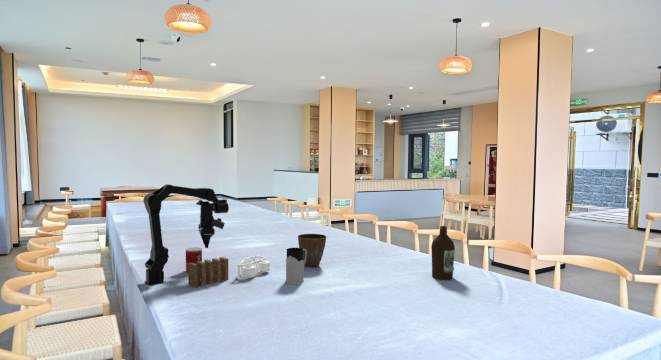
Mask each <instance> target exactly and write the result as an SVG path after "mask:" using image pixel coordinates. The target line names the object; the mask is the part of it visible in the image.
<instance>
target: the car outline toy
mask: <svg viewBox="0 0 661 360" xmlns="http://www.w3.org/2000/svg"><path fill="white" fill-rule="evenodd" d="M255 259H258V260H255ZM270 269H271V261H269V260H267V257H266V256H262V255H252V256H249V257H245V258H243V259H242V260H241V261H240V263H237V281H242V280H244V281H245V280H247V279H251V278H253V277H256V276H260V275H262V274H264V273H265V272H266V273H267V272H270V271H271V270H270Z"/></svg>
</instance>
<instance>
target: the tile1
mask: <svg viewBox="0 0 661 360" xmlns="http://www.w3.org/2000/svg"><path fill="white" fill-rule="evenodd" d="M187 273H188V277H187V279H188V281H187V282H188V284H187V285H188V286H189V287H191V288H193V289H196V288H198V284H197V264H195V263H193V262H190V263H188V272H187Z"/></svg>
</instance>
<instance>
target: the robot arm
mask: <svg viewBox="0 0 661 360" xmlns="http://www.w3.org/2000/svg"><path fill="white" fill-rule="evenodd" d="M171 194H175V195H182V196H190V197H191V196H192V197H195V198H196V199H199V200H198V201H197V202H196V203H195V204H196V205H197V206H200V209H199V211H200V212H199V213H200V214H199V220H200V221H199V224H198V226H197V227H198V232H199V234H200V237H201V240H202V243H203V245H204V247H205V249H208V248H209V246H210V242H211V238H212V237H213V236H214V235H215V234H216V232H215V231H216V230H215V228H214V227H216V228H219V229H220V230H223V229H224V227H225V224H226V222H224V221H223V220H222V218H219V217H218V218H217V219H215V217H214V216H213V214H227V213H228V212H229V210H230V206H229V203H228V201H227V198H226V199H225V198H224V199H218V197H217V195H216V192H215V190H214V189H213V188H208V187H197V188H195V187H194V188H193V187H185V186H178V185H172V184H167V183H166V184H164V185H163V186H161V187H159V188H158V189H156V190H154V191H153V192H151V193H148V194H146V195H145V196H144V197H143V200H142V201H143V204H144V208H145V210H146V212H147V214H148V221H149V229H150V238H151V239H150V240H151V247H150V248H151V249H150V254H149V258H148V260H147V261H145V262H144V267H145V268H146V270H145V281H144V283H145V284H146V285H149V286H154V285H159V284H163V283H165V271H164V267H165V265H166V264H167V263H168V260H169V258H170V256H169V248H168V247H166V246H164V243H163V235H162V234H163V233H162V225H161V217H160V213H161V209H162V202H164V201H165V200H166V199H167V198H168V197H169V196H170V195H171ZM203 200H205V201H203Z"/></svg>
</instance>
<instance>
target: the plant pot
mask: <svg viewBox="0 0 661 360" xmlns="http://www.w3.org/2000/svg"><path fill="white" fill-rule="evenodd" d="M326 241H327V235H325V234H322V233H321V234H319V233H303V234H298V235H297V242H298V248H302V249H306V251H307V257H306V262H305V265H304V267H305V268H310V269H311V268H313V269H314V267H315V268H318V267H319V266H320V264H321V262H322V261H321V260H322V258H323V256H324V251H325V247H326V243H327V242H326ZM303 260H305V250H303Z"/></svg>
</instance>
